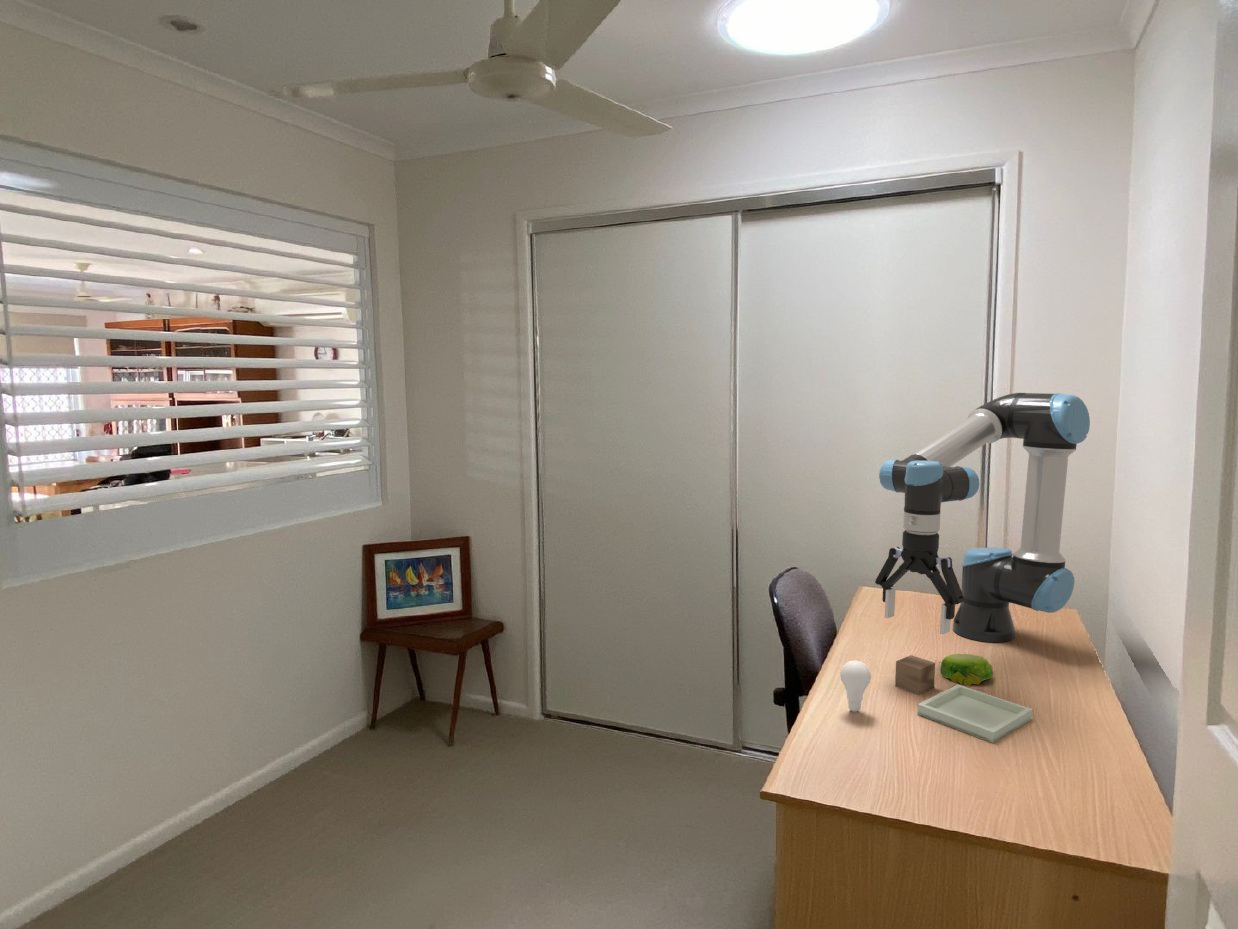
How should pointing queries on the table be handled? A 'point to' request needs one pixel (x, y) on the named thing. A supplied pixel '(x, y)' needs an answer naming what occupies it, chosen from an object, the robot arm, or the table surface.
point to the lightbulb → (855, 682)
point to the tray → (975, 713)
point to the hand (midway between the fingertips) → (916, 624)
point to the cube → (915, 674)
